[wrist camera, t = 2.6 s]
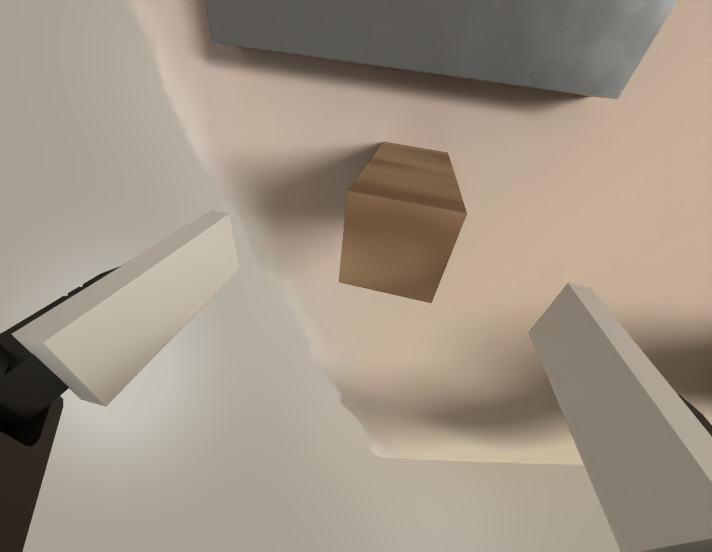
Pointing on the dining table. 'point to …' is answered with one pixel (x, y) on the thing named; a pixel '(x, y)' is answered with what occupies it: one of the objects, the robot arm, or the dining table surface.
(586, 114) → the dining table surface
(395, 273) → the walnut block
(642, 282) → the dining table surface
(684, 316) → the dining table surface
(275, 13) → the steel rail
